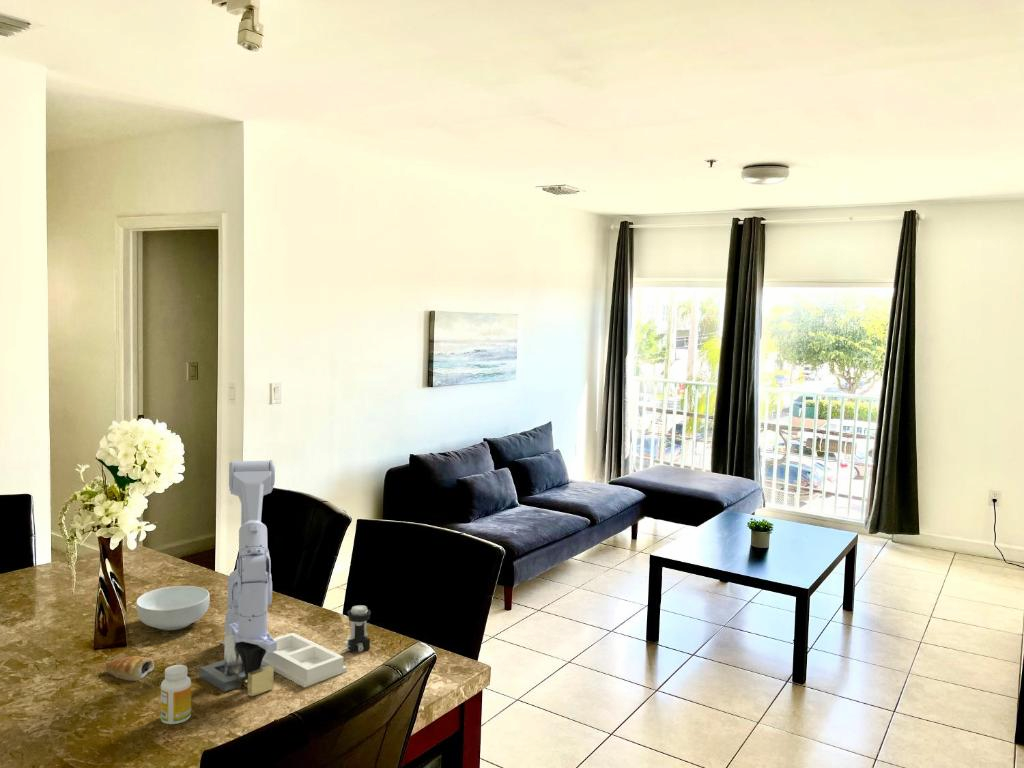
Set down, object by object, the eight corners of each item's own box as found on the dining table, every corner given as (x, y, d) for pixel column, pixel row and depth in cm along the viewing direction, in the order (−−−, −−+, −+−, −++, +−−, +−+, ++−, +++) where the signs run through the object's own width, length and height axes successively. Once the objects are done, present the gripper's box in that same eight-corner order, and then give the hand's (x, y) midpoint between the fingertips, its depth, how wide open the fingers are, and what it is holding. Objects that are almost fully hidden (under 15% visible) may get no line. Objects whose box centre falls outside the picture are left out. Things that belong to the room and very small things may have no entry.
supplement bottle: (195, 711, 157) (195, 663, 156) (184, 725, 152) (185, 675, 151) (167, 710, 157) (167, 662, 156) (155, 724, 152) (156, 674, 151)
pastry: (97, 677, 170) (97, 660, 170) (118, 664, 177) (119, 647, 176) (137, 683, 168) (138, 665, 168) (157, 670, 175) (157, 652, 175)
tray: (253, 659, 181) (253, 644, 181) (295, 646, 189) (295, 631, 189) (304, 687, 169) (304, 671, 169) (346, 671, 177) (347, 655, 177)
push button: (346, 657, 185) (347, 614, 184) (337, 648, 189) (338, 607, 188) (373, 651, 188) (374, 609, 187) (364, 643, 193) (365, 602, 192)
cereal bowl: (156, 610, 208) (156, 583, 208) (220, 613, 208) (220, 586, 207) (122, 636, 191) (122, 607, 191) (191, 639, 191) (192, 610, 190)
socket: (199, 676, 172) (200, 667, 172) (242, 662, 179) (242, 653, 179) (225, 692, 165) (225, 682, 165) (267, 676, 173) (268, 667, 173)
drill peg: (220, 676, 172) (220, 635, 171) (237, 671, 175) (238, 630, 175) (230, 682, 170) (231, 641, 169) (247, 676, 173) (248, 636, 172)
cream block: (229, 683, 169) (229, 662, 169) (251, 675, 173) (251, 655, 172) (251, 696, 164) (252, 675, 163) (273, 688, 167) (273, 667, 167)
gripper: (216, 607, 168) (215, 670, 169) (255, 627, 159) (254, 693, 160) (246, 599, 174) (245, 660, 175) (286, 617, 164) (284, 682, 166)
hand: (251, 675), depth 168 cm, fingers closed
